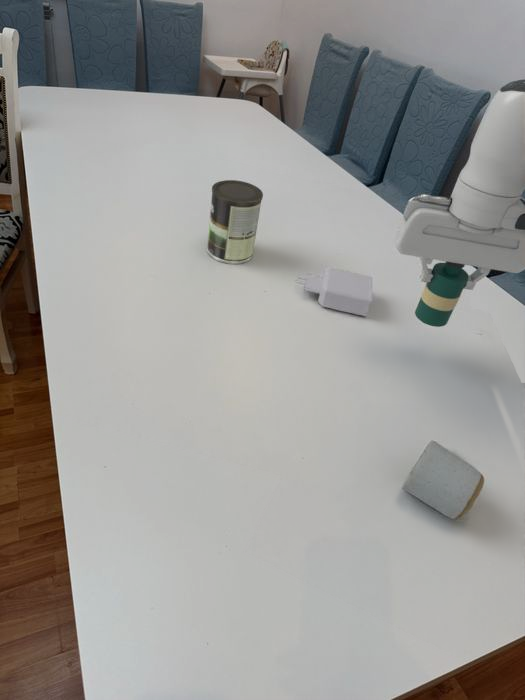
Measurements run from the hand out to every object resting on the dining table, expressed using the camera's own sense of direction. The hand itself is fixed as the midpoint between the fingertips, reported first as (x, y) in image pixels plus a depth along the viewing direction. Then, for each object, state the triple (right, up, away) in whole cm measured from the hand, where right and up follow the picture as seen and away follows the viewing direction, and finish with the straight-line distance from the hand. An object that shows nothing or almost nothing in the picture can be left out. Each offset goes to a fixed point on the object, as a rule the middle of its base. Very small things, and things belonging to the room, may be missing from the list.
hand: (445, 284), depth 81 cm
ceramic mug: (-6, -30, -12) cm, 33 cm away
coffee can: (-37, +11, +28) cm, 48 cm away
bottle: (-1, -5, +4) cm, 7 cm away
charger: (-16, 0, +20) cm, 26 cm away
